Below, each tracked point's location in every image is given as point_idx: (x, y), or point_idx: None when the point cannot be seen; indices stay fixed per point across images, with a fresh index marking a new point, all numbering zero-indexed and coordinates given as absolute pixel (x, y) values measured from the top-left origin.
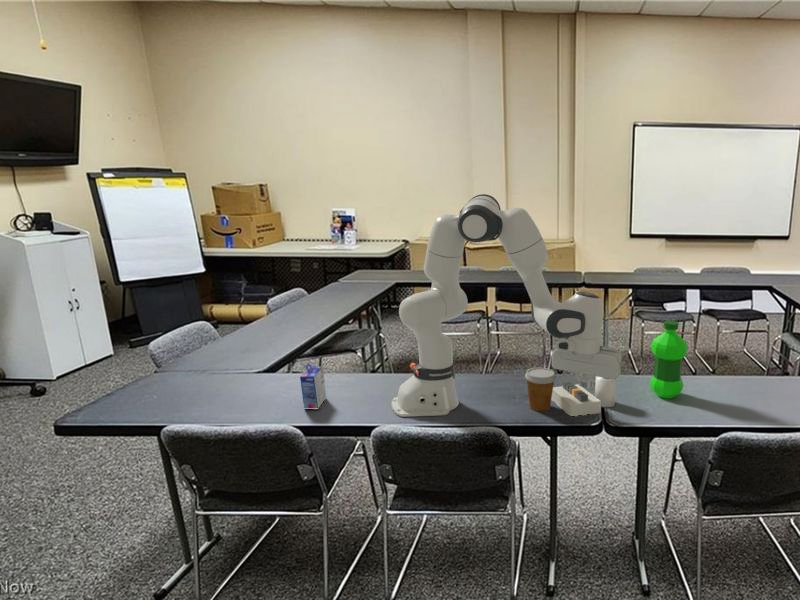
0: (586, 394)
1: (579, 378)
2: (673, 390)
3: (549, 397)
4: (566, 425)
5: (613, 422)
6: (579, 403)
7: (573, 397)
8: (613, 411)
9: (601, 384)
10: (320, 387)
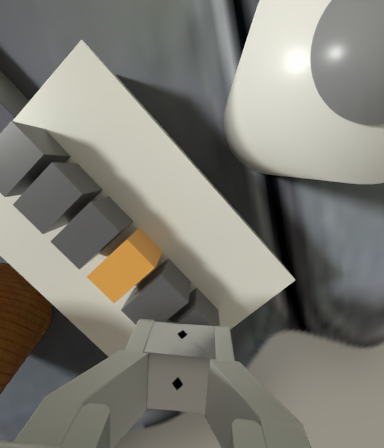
0: None
1: (114, 444)
2: None
3: (10, 375)
4: (165, 414)
5: (340, 322)
6: None
7: (127, 293)
8: (331, 206)
9: (312, 178)
10: None
